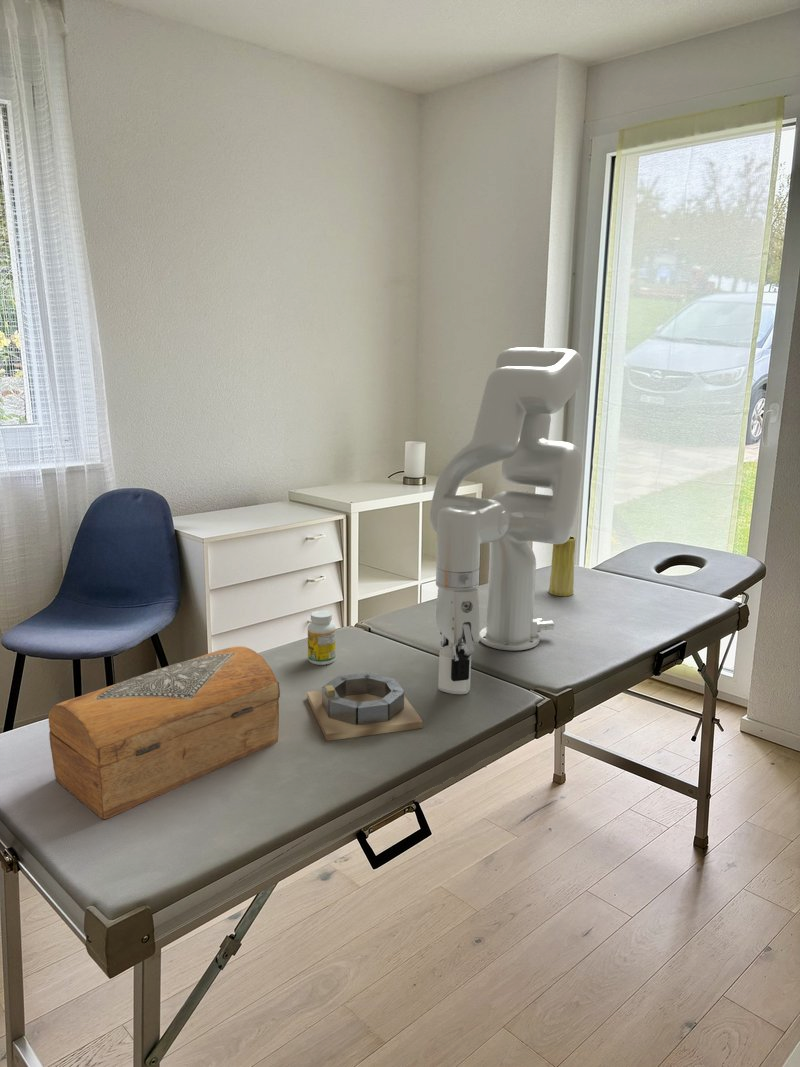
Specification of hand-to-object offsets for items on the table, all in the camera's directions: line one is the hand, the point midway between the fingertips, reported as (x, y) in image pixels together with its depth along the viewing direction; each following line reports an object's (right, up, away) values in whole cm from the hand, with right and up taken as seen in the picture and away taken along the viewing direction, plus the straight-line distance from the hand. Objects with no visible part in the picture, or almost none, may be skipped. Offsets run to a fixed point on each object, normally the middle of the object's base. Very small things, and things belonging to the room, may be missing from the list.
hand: (454, 672), depth 147 cm
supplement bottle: (-25, 0, +14) cm, 29 cm away
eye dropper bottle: (0, -3, +1) cm, 4 cm away
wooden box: (-44, -9, -24) cm, 51 cm away
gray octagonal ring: (-16, -4, -8) cm, 19 cm away
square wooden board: (-16, -5, -8) cm, 19 cm away
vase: (+30, +10, +57) cm, 65 cm away
